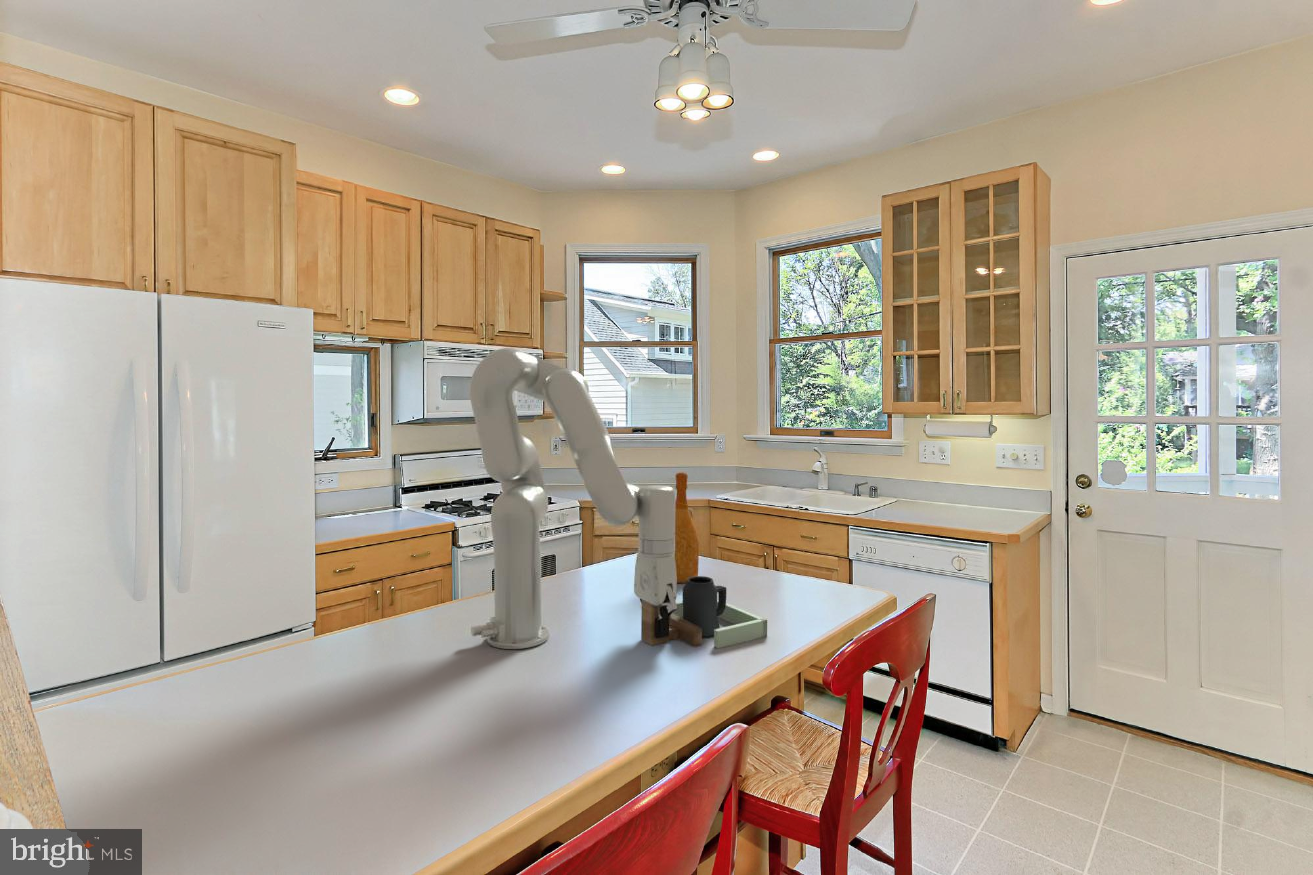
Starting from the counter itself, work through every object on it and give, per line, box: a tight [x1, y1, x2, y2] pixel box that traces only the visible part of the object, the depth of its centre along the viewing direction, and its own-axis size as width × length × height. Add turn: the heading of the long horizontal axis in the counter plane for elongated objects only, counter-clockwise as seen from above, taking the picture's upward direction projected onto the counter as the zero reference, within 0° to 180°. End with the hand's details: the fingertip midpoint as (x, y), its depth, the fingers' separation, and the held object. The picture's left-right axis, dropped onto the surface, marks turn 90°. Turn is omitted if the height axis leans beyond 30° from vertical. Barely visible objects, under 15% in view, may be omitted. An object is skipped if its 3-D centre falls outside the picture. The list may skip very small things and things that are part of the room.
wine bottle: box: [674, 471, 700, 584], centre depth 182 cm, size 10×10×30 cm
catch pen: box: [673, 598, 768, 649], centre depth 143 cm, size 13×20×4 cm, turn 32°
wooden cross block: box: [640, 600, 703, 648], centre depth 137 cm, size 9×14×9 cm, turn 31°
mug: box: [682, 575, 727, 639], centre depth 142 cm, size 12×9×11 cm
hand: (655, 632), depth 136 cm, fingers closed on wooden cross block, 4 cm apart
